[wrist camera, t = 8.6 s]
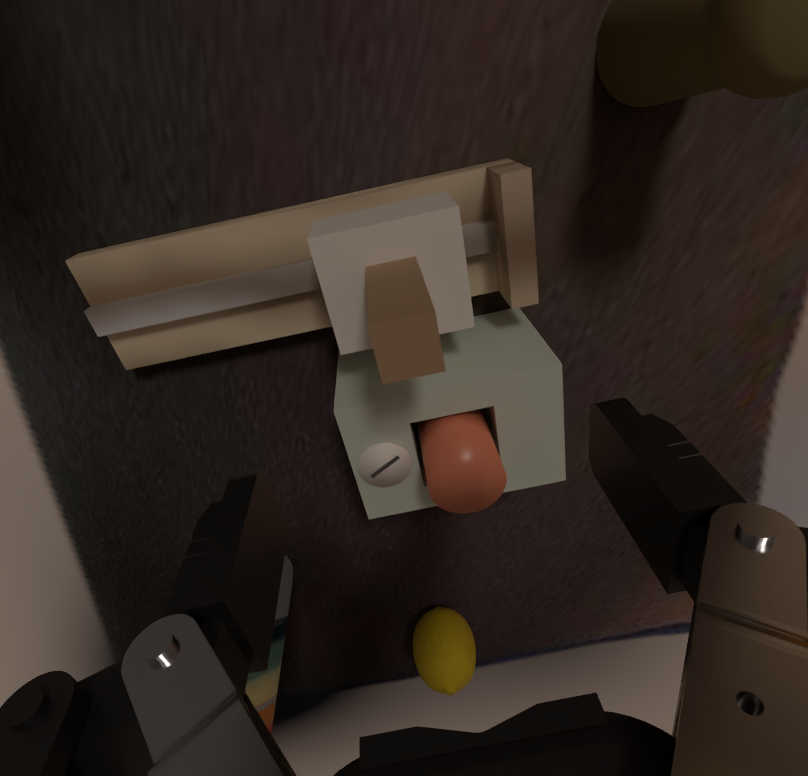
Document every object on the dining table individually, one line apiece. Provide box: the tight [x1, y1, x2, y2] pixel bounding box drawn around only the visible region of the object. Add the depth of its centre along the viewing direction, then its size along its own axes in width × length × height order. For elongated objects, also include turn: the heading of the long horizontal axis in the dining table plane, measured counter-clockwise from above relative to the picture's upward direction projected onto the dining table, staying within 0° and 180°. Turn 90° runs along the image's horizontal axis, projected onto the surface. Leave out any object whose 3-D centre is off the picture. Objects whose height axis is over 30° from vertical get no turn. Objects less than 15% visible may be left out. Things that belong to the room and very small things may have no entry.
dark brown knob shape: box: [596, 0, 808, 108], centre depth 20 cm, size 6×6×11 cm
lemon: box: [413, 606, 476, 695], centre depth 44 cm, size 6×6×8 cm
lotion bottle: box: [245, 555, 293, 733], centre depth 34 cm, size 6×6×20 cm
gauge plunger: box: [417, 409, 507, 514], centre depth 27 cm, size 4×4×6 cm
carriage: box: [307, 191, 475, 385], centre depth 22 cm, size 6×7×11 cm
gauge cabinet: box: [334, 308, 566, 519], centre depth 31 cm, size 8×12×8 cm, turn 101°
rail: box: [65, 158, 539, 370], centre depth 28 cm, size 7×25×4 cm, turn 101°
